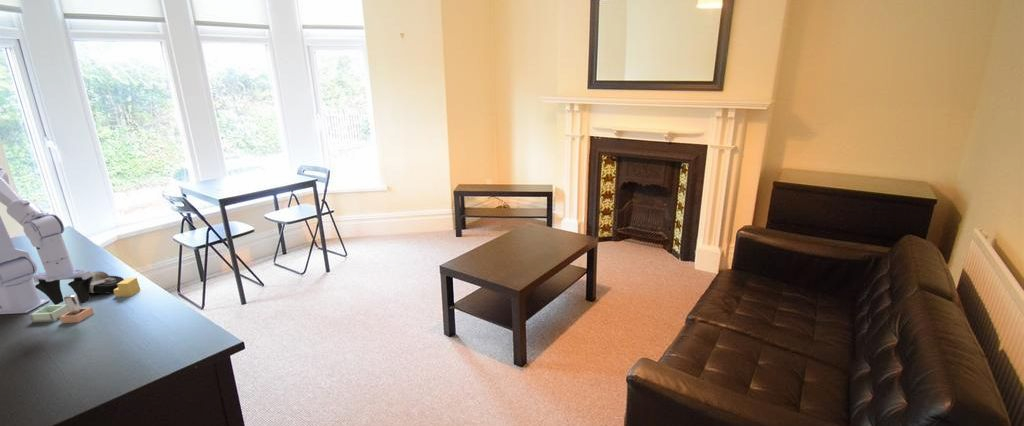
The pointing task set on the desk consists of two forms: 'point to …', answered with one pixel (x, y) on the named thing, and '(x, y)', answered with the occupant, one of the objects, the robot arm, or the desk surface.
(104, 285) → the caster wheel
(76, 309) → the stop pin
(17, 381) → the desk surface
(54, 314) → the tray
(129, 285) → the chock
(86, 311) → the socket block
